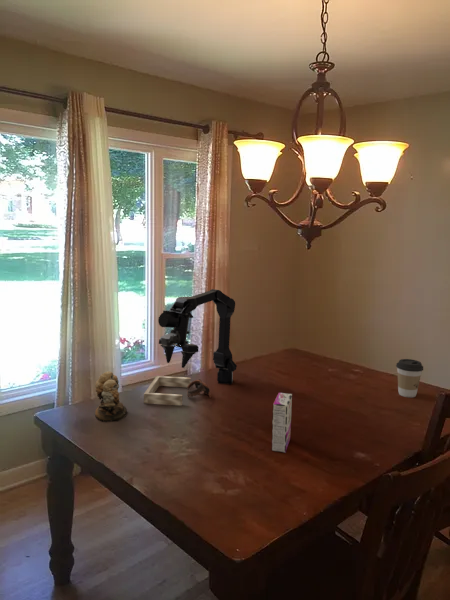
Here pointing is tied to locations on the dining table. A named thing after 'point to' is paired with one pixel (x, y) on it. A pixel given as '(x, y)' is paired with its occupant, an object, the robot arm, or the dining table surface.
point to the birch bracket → (165, 399)
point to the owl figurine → (109, 399)
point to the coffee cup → (408, 376)
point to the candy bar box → (281, 422)
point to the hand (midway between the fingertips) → (175, 365)
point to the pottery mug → (198, 388)
